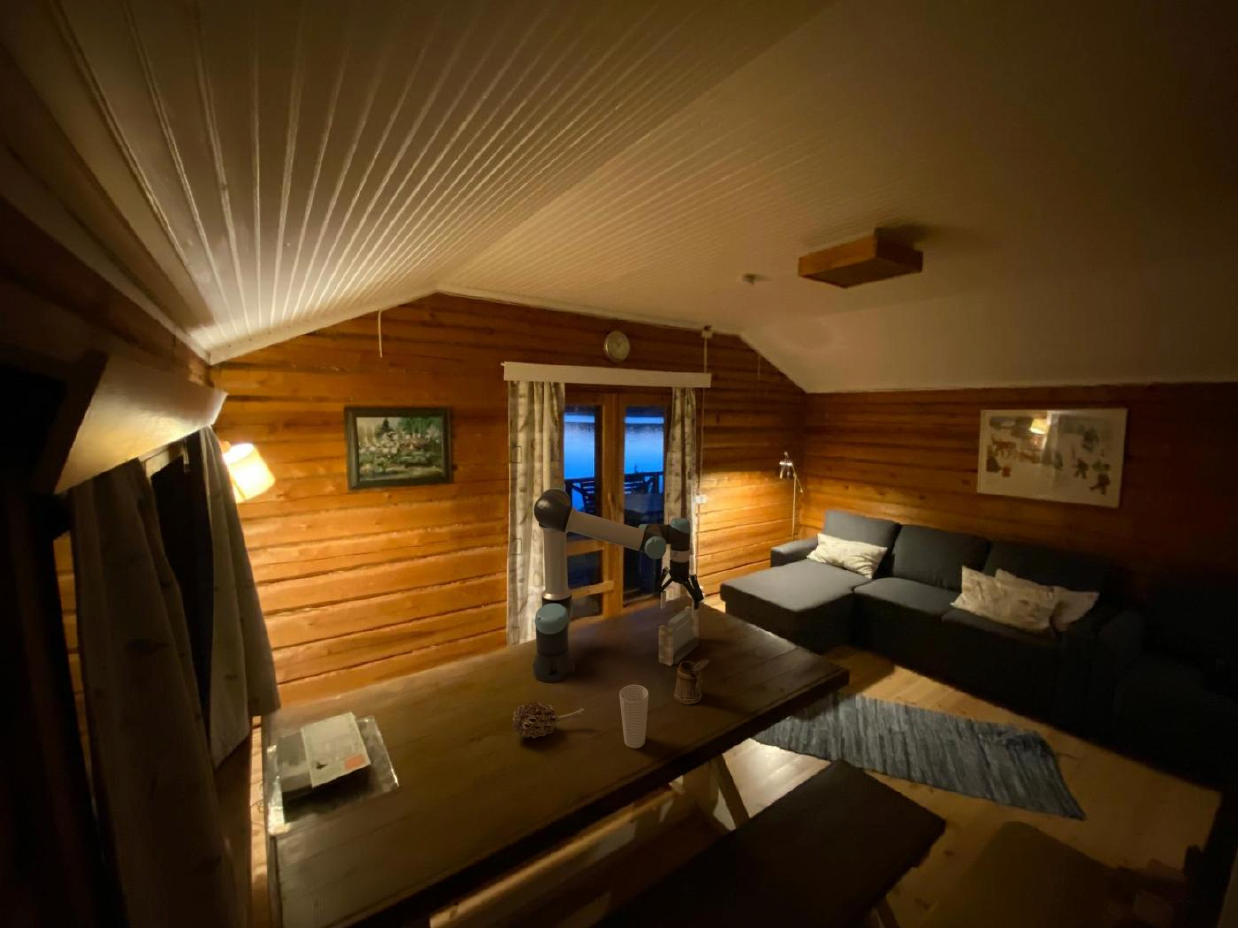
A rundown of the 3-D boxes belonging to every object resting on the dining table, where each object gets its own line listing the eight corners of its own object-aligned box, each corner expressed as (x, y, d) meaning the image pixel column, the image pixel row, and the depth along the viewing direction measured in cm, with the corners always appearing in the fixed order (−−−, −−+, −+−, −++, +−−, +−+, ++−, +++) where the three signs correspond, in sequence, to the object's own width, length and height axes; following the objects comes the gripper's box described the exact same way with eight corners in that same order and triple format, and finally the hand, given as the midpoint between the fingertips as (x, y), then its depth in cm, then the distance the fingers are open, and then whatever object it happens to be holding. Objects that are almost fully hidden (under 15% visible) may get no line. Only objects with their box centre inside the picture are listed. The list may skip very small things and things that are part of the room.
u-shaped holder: (656, 660, 192) (655, 626, 190) (684, 637, 210) (684, 605, 208) (673, 667, 188) (673, 631, 186) (701, 642, 205) (701, 609, 203)
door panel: (667, 655, 195) (667, 621, 193) (682, 643, 205) (683, 610, 202) (674, 658, 193) (674, 623, 191) (690, 645, 203) (690, 612, 201)
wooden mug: (694, 715, 160) (694, 662, 157) (668, 693, 172) (668, 643, 169) (715, 706, 165) (716, 654, 162) (689, 685, 176) (690, 637, 173)
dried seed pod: (515, 751, 146) (513, 719, 144) (510, 730, 155) (509, 700, 153) (589, 733, 153) (588, 702, 151) (581, 714, 162) (580, 685, 160)
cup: (614, 741, 149) (613, 692, 147) (634, 727, 155) (633, 680, 153) (635, 756, 143) (634, 705, 141) (655, 741, 149) (655, 692, 147)
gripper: (646, 555, 198) (645, 607, 201) (704, 569, 183) (703, 624, 186) (656, 550, 204) (656, 600, 207) (714, 563, 189) (712, 617, 192)
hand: (678, 612), depth 196 cm, fingers open, 13 cm apart
